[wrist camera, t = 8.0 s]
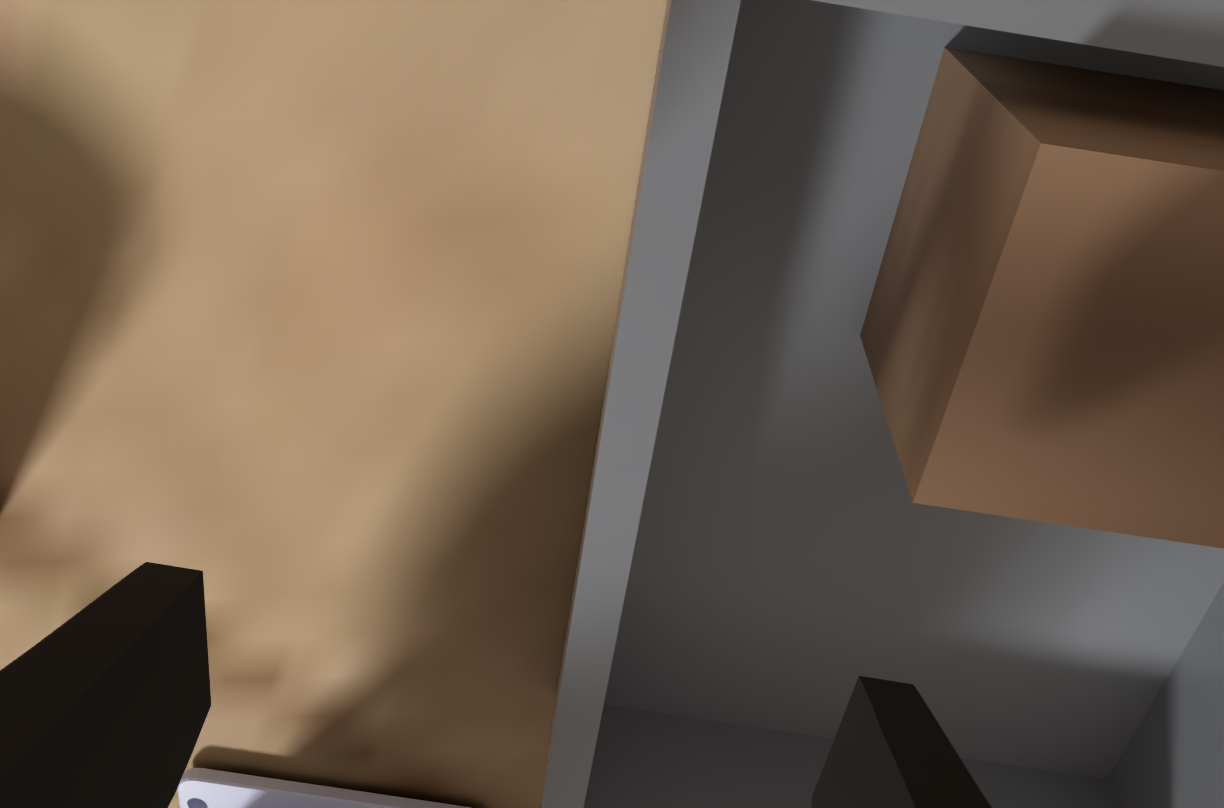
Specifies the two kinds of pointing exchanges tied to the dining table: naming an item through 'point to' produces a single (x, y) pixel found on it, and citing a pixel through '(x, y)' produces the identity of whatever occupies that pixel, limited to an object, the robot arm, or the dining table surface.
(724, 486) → the tote
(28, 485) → the dining table surface
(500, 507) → the dining table surface
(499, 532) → the dining table surface
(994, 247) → the walnut cube
